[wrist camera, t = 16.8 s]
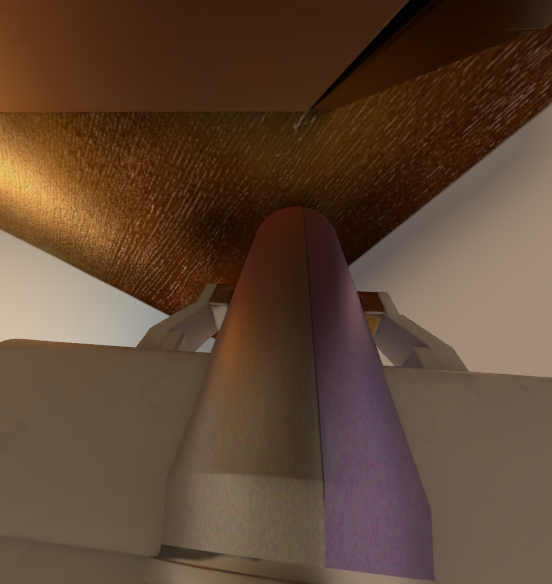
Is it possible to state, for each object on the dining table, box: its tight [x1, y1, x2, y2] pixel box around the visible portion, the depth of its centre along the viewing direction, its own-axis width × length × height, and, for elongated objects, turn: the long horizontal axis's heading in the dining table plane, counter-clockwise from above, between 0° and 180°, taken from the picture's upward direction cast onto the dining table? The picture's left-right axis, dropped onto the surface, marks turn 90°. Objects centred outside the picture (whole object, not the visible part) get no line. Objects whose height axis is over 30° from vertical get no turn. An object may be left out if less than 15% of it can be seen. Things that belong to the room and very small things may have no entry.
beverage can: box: [142, 207, 436, 584], centre depth 10 cm, size 6×6×15 cm
